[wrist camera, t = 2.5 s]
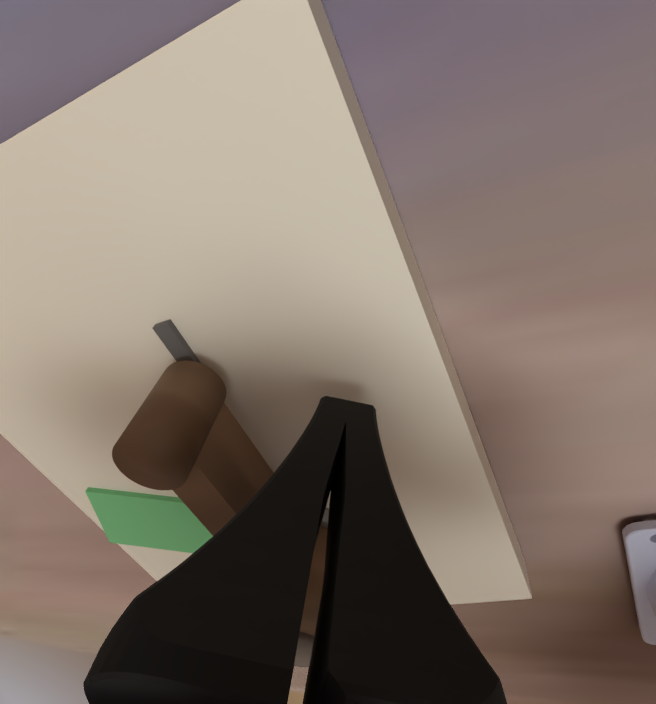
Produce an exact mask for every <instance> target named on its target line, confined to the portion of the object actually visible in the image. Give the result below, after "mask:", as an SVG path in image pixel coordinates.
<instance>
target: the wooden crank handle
mask: <svg viewBox="0 0 656 704" xmlns="http://www.w3.org/2000/svg"><path fill="white" fill-rule="evenodd" d="M225 399H226V387H225V384H224V382H223V380H222V379H221V378H220V376H219V375H218V374H217V373H216V372H215V371H214V370H212V369H211V368H209V367H208V366H206V365H204V364H201V363H198V362H195V361H186V360H184V361H178V362H175V363H172V364H171V365H169V366H168V367H167V368H166V370H165V371H164V373H163V374H162V375H161V377H160V378H159V380H158V381H157V383H156V384H155V386H154V387H153V389H152V390H151V392H150V393H149V395H148V396H147V398H146V399H145V401H144V402H143V404H142V405H141V407H140V408H139V409H138V411H137V412H136V414H135V415H134V417H133V418H132V420H131V421H130V423H129V424H128V426H127V427H126V429H125V430H124V432H123V433H122V435H121V436H120V438H119V439H118V441H117V442H116V443H115V445H114V447H113V449H112V458H113V461H114V463H115V465H116V467H117V468H118V469H119V470H120V472H121V473H123V474H124V475H125V476H126V477H127V478H129V479H130V480H132V481H133V482H135V483H137V484H139V485H141V486H144V487H147V488H150V489H155V490H173V491H174V492H175V494H176V495H177V496H178V497H179V498H180V499H181V500H182V501H183V503H184V504H185V505H186V506H187V507H188V508H189V509H190V511H191V512H192V513H193V514H194V515H195V516H196V517H197V518H198V520H199V521H200V522H201V523H202V524H203V525H204V526H205V528H206V529H207V530H208V531H209V532H210V533H211V534H212V535H213V536H214V535H215V534H216V533H217V532H218V531H219V530H221V529H222V528H223V527H224V526H225V525H226V524H227V523H228V522H229V521H230V520H231V519H232V518H233V517H234V516H235V515H236V514H237V513H238V512H239V511H240V510H241V509H242V508H243V507H244V506H245V505H246V504H247V503H248V502H249V501H250V500H251V499H252V498H253V497H254V495H255V494H256V493H257V492H258V491H259V490H260V489H261V488H262V487H263V485H264V484H265V483H266V482H267V481H268V480H269V478H270V477H271V476H272V475H273V473H274V472H273V471H272V470H271V468H270V467H269V465H268V464H267V463H266V461H265V460H264V458H263V457H262V455H261V454H260V453H259V451H258V450H257V448H256V447H255V445H254V444H253V443H252V441H251V440H250V438H249V437H248V435H247V434H246V433H245V431H244V430H243V428H242V427H241V426H240V424H239V423H238V421H237V420H236V418H235V417H234V416H233V414H232V413H231V411H230V410H229V408H228V407H227V406H226V404H225V403H224V401H225ZM326 542H327V528H324V527H320V530H319V534H318V537H317V541H316V544H315V548H314V552H313V558H312V564H311V569H310V575H309V581H308V586H307V592H306V598H305V604H304V609H303V615H302V621H301V627H300V633H299V638H298V644H297V650H296V656H295V662H294V666H299V667H309V664H310V659H311V653H312V647H313V641H314V635H315V629H316V623H317V617H318V611H319V605H320V599H321V593H322V586H323V577H324V567H325V554H326Z"/></svg>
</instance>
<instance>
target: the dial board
mask: <svg viewBox="0 0 656 704" xmlns="http://www.w3.org/2000/svg"><path fill="white" fill-rule="evenodd" d="M184 360H186V361H195V362H198V363H201V364H204V365H206V366H208V367H209V368H211V369H212V370H214V371H215V372H216V373H217V374H218V375H219V376H220V378H221V379H222V380H223V382H224V384H225V387H226V399H225V401H224V403H225V404H226V406H227V407H228V408H229V410H230V411H231V413H232V414H233V416H234V417H235V418H236V420H237V421H238V423H239V424H240V426H241V427H242V428H243V430H244V431H245V433H246V434H247V435H248V437H249V438H250V440H251V441H252V443H253V444H254V445H255V447H256V448H257V450H258V451H259V453H260V454H261V455H262V457H263V458H264V460H265V461H266V463H267V464H268V465H269V467H270V468H271V470H272V471H273V472H275V471H276V470H277V468H278V467H279V466H280V464H281V463H282V462H283V461H284V459H285V458H286V457H287V455H288V454H289V453H290V451H291V450H292V448H293V447H294V445H295V444H296V443H297V441H298V440H299V438H300V437H301V435H302V434H303V432H304V431H305V429H306V427H307V425H308V424H309V422H310V420H311V419H312V417H313V415H314V413H315V411H316V409H317V407H318V404H319V401H320V399H321V398H322V397H324V396H330V397H335V398H340V399H345V400H350V401H355V402H359V403H364V404H369V405H373V406H374V408H375V409H376V417H377V424H378V430H379V435H380V440H381V444H382V448H383V452H384V456H385V460H386V463H387V466H388V469H389V473H390V476H391V479H392V482H393V485H394V488H395V491H396V494H397V497H398V499H399V502H400V505H401V507H402V510H403V512H404V515H405V517H406V520H407V522H408V524H409V527H410V529H411V531H412V533H413V535H414V538H415V540H416V542H417V544H418V546H419V548H420V550H421V552H422V554H423V556H424V558H425V560H426V562H427V564H428V566H429V568H430V570H431V572H432V573H433V575H434V577H435V579H436V581H437V582H438V584H439V586H440V588H441V589H442V591H443V593H444V595H445V596H446V598H447V600H448V602H449V604H450V605H451V604H465V603H478V602H492V601H506V600H520V599H532V595H531V590H530V585H529V580H528V575H527V569H526V564H525V560H524V557H523V554H522V552H521V549H520V546H519V543H518V541H517V538H516V535H515V532H514V530H513V527H512V524H511V521H510V519H509V516H508V513H507V510H506V508H505V505H504V502H503V499H502V497H501V494H500V491H499V488H498V486H497V483H496V480H495V477H494V475H493V472H492V469H491V466H490V464H489V461H488V458H487V455H486V453H485V450H484V447H483V444H482V442H481V439H480V436H479V433H478V431H477V428H476V425H475V423H474V420H473V417H472V414H471V412H470V409H469V406H468V403H467V401H466V398H465V395H464V392H463V390H462V387H461V384H460V381H459V379H458V376H457V373H456V370H455V368H454V365H453V362H452V359H451V357H450V354H449V351H448V348H447V346H446V343H445V340H444V337H443V335H442V332H441V329H440V326H439V324H438V321H437V318H436V315H435V313H434V310H433V307H432V304H431V302H430V299H429V296H428V293H427V291H426V288H425V285H424V282H423V280H422V277H421V274H420V271H419V269H418V266H417V263H416V260H415V258H414V255H413V252H412V249H411V247H410V244H409V241H408V238H407V236H406V233H405V230H404V227H403V225H402V222H401V219H400V216H399V214H398V211H397V208H396V205H395V203H394V200H393V197H392V194H391V192H390V189H389V186H388V183H387V181H386V178H385V175H384V172H383V170H382V167H381V164H380V161H379V159H378V156H377V153H376V150H375V148H374V145H373V142H372V139H371V137H370V134H369V131H368V128H367V126H366V123H365V120H364V117H363V115H362V112H361V109H360V106H359V104H358V101H357V98H356V95H355V93H354V90H353V87H352V84H351V82H350V79H349V76H348V73H347V71H346V68H345V65H344V62H343V60H342V57H341V54H340V51H339V49H338V46H337V43H336V40H335V38H334V35H333V32H332V29H331V27H330V24H329V21H328V18H327V16H326V13H325V10H324V7H323V5H322V2H321V0H241V1H239V2H237V3H236V4H234V5H232V6H231V7H229V8H227V9H226V10H224V11H222V12H221V13H219V14H217V15H216V16H214V17H212V18H211V19H209V20H207V21H206V22H204V23H202V24H201V25H199V26H197V27H196V28H194V29H192V30H191V31H189V32H187V33H186V34H184V35H182V36H181V37H179V38H177V39H176V40H174V41H172V42H171V43H169V44H167V45H166V46H164V47H162V48H161V49H159V50H157V51H156V52H154V53H152V54H151V55H149V56H147V57H146V58H144V59H142V60H141V61H139V62H137V63H136V64H134V65H132V66H131V67H129V68H127V69H125V70H124V71H122V72H120V73H119V74H117V75H115V76H114V77H112V78H110V79H109V80H107V81H105V82H104V83H102V84H100V85H99V86H97V87H95V88H94V89H92V90H90V91H89V92H87V93H85V94H84V95H82V96H80V97H79V98H77V99H75V100H74V101H72V102H70V103H69V104H67V105H65V106H64V107H62V108H60V109H59V110H57V111H55V112H54V113H52V114H50V115H49V116H47V117H45V118H44V119H42V120H40V121H39V122H37V123H35V124H34V125H32V126H30V127H29V128H27V129H25V130H24V131H22V132H20V133H19V134H17V135H15V136H14V137H12V138H10V139H9V140H7V141H5V142H4V143H2V144H0V434H1V435H2V436H3V437H4V438H5V439H7V440H8V441H9V442H10V443H11V444H12V445H13V446H14V447H15V448H16V449H17V450H18V451H19V452H20V453H21V454H22V455H24V456H25V457H26V458H27V459H28V460H29V461H30V462H31V463H32V464H33V465H34V466H35V467H36V468H37V469H38V470H39V471H41V472H42V473H43V474H44V475H45V476H46V477H47V478H48V479H49V480H50V481H51V482H52V483H53V484H54V485H55V486H56V487H57V488H59V489H60V490H61V491H62V492H63V493H64V494H65V495H66V496H67V497H68V498H69V499H70V500H71V501H72V502H73V503H74V504H76V505H77V506H78V507H79V508H80V509H81V510H82V511H83V512H84V513H85V514H86V515H87V516H88V517H89V518H90V519H91V520H93V521H94V522H95V523H96V524H97V525H98V526H99V527H100V528H101V529H102V530H103V531H104V532H105V533H106V535H107V538H108V540H109V542H110V543H117V544H118V545H119V546H120V547H121V548H122V549H123V550H124V551H125V552H127V553H128V554H129V555H130V556H131V557H132V558H133V559H134V560H135V561H136V562H137V563H138V564H139V565H140V566H141V567H142V568H144V569H145V570H146V571H147V572H148V573H149V574H150V575H151V576H152V577H153V578H154V579H155V580H156V581H158V580H159V579H161V578H162V577H164V576H165V575H166V574H168V573H169V572H170V571H172V570H173V569H174V568H176V567H177V566H178V565H179V564H181V563H182V562H183V561H184V560H186V559H187V558H188V557H189V556H190V555H192V554H193V553H194V552H195V551H196V550H197V549H199V548H200V547H201V546H202V545H203V544H205V543H206V542H207V541H208V540H209V539H211V538H212V537H213V535H212V534H211V533H210V532H209V531H208V530H207V529H206V528H205V526H204V525H203V524H202V523H201V522H200V521H199V520H198V518H197V517H196V516H195V515H194V514H193V513H192V512H191V511H190V509H189V508H188V507H187V506H186V505H185V504H184V503H183V501H182V500H181V499H180V498H179V497H178V496H177V495H176V494H175V492H174V491H173V490H155V489H150V488H147V487H144V486H141V485H139V484H137V483H135V482H133V481H132V480H130V479H129V478H127V477H126V476H125V475H124V474H123V473H121V472H120V470H119V469H118V468H117V467H116V465H115V463H114V461H113V458H112V449H113V447H114V445H115V443H116V442H117V441H118V439H119V438H120V436H121V435H122V433H123V432H124V430H125V429H126V427H127V426H128V424H129V423H130V421H131V420H132V418H133V417H134V415H135V414H136V412H137V411H138V409H139V408H140V407H141V405H142V404H143V402H144V401H145V399H146V398H147V396H148V395H149V393H150V392H151V390H152V389H153V387H154V386H155V384H156V383H157V381H158V380H159V378H160V377H161V375H162V374H163V373H164V371H165V370H166V368H167V367H168V366H169V365H171V364H172V363H175V362H178V361H184ZM330 492H331V491H330ZM329 504H330V494H329V498H328V501H327V505H326V509H325V512H324V516H323V519H322V523H321V527H324V528H327V529H328V516H329Z"/></svg>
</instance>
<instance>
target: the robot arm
mask: <svg viewBox="0 0 656 704" xmlns="http://www.w3.org/2000/svg"><path fill="white" fill-rule="evenodd" d="M330 491H331V492H330ZM329 494H330V504H329V516H328V529H327V542H326V554H325V567H324V577H323V586H322V593H321V599H320V605H319V611H318V617H317V623H316V629H315V635H314V641H313V647H312V653H311V659H310V664H309V670H308V676H307V682H306V688H305V693H304V699H303V704H507V702H506V698H505V695H504V691H503V688H502V685H501V682H500V679H499V677H498V676H497V674H496V673H495V672H494V670H493V669H492V667H491V666H490V664H489V663H488V662H487V660H486V659H485V657H484V656H483V655H482V653H481V652H480V650H479V649H478V647H477V646H476V644H475V643H474V641H473V640H472V638H471V637H470V635H469V634H468V632H467V631H466V629H465V628H464V626H463V624H462V623H461V621H460V620H459V618H458V616H457V615H456V613H455V612H454V610H453V609H452V607H451V605H450V604H449V602H448V600H447V598H446V596H445V595H444V593H443V591H442V589H441V588H440V586H439V584H438V582H437V581H436V579H435V577H434V575H433V573H432V572H431V570H430V568H429V566H428V564H427V562H426V560H425V558H424V556H423V554H422V552H421V550H420V548H419V546H418V544H417V542H416V540H415V538H414V535H413V533H412V531H411V529H410V527H409V524H408V522H407V520H406V517H405V515H404V512H403V510H402V507H401V505H400V502H399V499H398V497H397V494H396V491H395V488H394V485H393V482H392V479H391V476H390V473H389V469H388V466H387V463H386V460H385V456H384V452H383V448H382V444H381V440H380V435H379V430H378V424H377V417H376V409H375V408H374V406H373V405H369V404H364V403H359V402H355V401H350V400H345V399H340V398H335V397H330V396H324V397H322V398H321V399H320V401H319V404H318V407H317V409H316V411H315V413H314V415H313V417H312V419H311V420H310V422H309V424H308V425H307V427H306V429H305V431H304V432H303V434H302V435H301V437H300V438H299V440H298V441H297V443H296V444H295V445H294V447H293V448H292V450H291V451H290V453H289V454H288V455H287V457H286V458H285V459H284V461H283V462H282V463H281V464H280V466H279V467H278V468H277V470H276V471H275V472H274V473H273V475H272V476H271V477H270V478H269V480H268V481H267V482H266V483H265V484H264V485H263V487H262V488H261V489H260V490H259V491H258V492H257V493H256V494H255V495H254V497H253V498H252V499H251V500H250V501H249V502H248V503H247V504H246V505H245V506H244V507H243V508H242V509H241V510H240V511H239V512H238V513H237V514H236V515H235V516H234V517H233V518H232V519H231V520H230V521H229V522H228V523H227V524H226V525H225V526H224V527H223V528H222V529H221V530H219V531H218V532H217V533H216V534H215V535H214V536H213V537H212V538H211V539H209V540H208V541H207V542H206V543H205V544H203V545H202V546H201V547H200V548H199V549H197V550H196V551H195V552H194V553H193V554H192V555H190V556H189V557H188V558H187V559H186V560H184V561H183V562H182V563H181V564H179V565H178V566H177V567H176V568H174V569H173V570H172V571H170V572H169V573H168V574H166V575H165V576H164V577H162V578H161V579H159V580H158V581H157V582H155V583H154V584H153V585H151V586H150V587H149V588H147V589H146V590H145V591H143V592H142V593H140V594H139V595H138V596H136V597H135V598H134V599H133V601H132V602H131V603H130V605H129V606H128V607H127V609H126V610H125V611H124V613H123V614H122V615H121V617H120V618H119V619H118V621H117V622H116V624H115V625H114V627H113V628H112V630H111V631H110V633H109V635H108V636H107V638H106V639H105V641H104V643H103V644H102V646H101V648H100V650H99V652H98V654H97V656H96V658H95V660H94V662H93V664H92V667H91V669H90V671H89V673H88V675H87V677H86V679H85V681H84V691H85V695H86V697H87V699H88V702H89V704H287V701H288V695H289V690H290V684H291V679H292V673H293V668H294V662H295V656H296V650H297V644H298V638H299V633H300V627H301V621H302V615H303V609H304V604H305V598H306V592H307V586H308V581H309V575H310V569H311V564H312V558H313V552H314V548H315V544H316V541H317V537H318V534H319V530H320V527H321V523H322V519H323V516H324V512H325V509H326V505H327V501H328V498H329ZM622 535H623V541H624V546H625V552H626V557H627V563H628V568H629V574H630V579H631V585H632V591H633V596H634V602H635V607H636V613H637V618H638V624H639V629H640V633H641V636H642V639H643V641H644V642H646V643H648V644H651V645H656V520H650V521H641V522H634V523H631V524H629V525H627V526H626V527H625V528H624V529H623V531H622Z"/></svg>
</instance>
